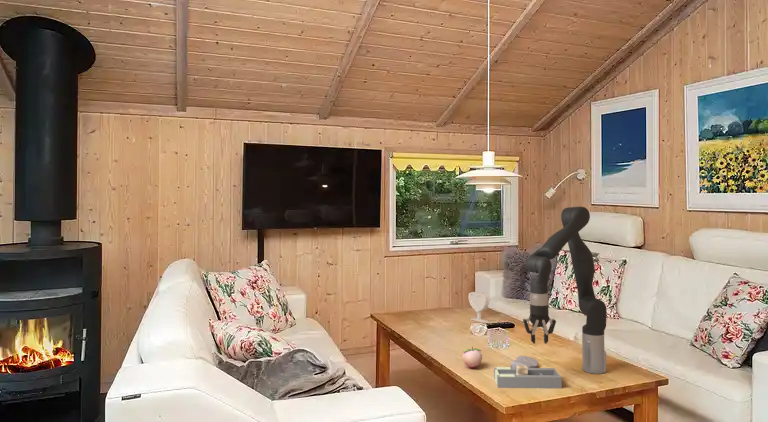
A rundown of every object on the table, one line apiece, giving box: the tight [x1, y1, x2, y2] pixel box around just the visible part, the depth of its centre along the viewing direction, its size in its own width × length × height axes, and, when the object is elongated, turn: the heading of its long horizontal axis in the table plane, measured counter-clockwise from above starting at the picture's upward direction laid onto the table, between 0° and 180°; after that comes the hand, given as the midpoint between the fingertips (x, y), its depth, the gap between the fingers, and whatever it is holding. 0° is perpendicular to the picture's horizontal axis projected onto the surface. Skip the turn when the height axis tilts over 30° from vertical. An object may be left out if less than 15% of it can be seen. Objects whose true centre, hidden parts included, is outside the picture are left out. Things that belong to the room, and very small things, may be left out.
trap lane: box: [493, 366, 563, 389], centre depth 215 cm, size 26×12×5 cm, turn 86°
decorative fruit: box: [462, 346, 483, 369], centre depth 235 cm, size 9×8×10 cm
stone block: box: [510, 355, 539, 368], centre depth 234 cm, size 12×5×10 cm
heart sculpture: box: [468, 291, 490, 324], centre depth 325 cm, size 16×5×18 cm, turn 34°
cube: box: [516, 365, 528, 375], centre depth 215 cm, size 4×4×4 cm
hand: (539, 342), depth 214 cm, fingers open, 4 cm apart
